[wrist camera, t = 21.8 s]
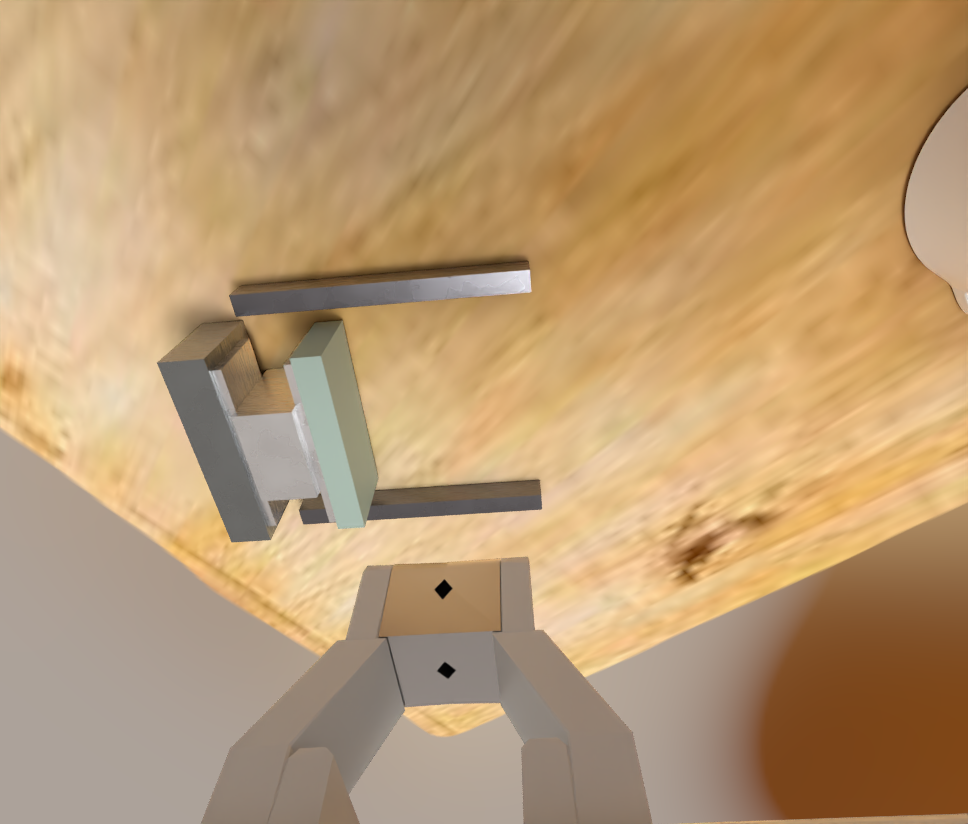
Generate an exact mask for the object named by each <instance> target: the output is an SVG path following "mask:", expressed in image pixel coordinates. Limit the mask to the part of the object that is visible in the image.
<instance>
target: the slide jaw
mask: <svg viewBox="0 0 968 824" xmlns="http://www.w3.org/2000/svg"><path fill="white" fill-rule="evenodd" d="M283 366H284V370H285V373H286V376H287V380H288V383H289V387H290V390H291V393H292V397H293V400H294V404H295V407H296V410H297V414H298V417H299V421H300V424H301V427H302V431H303V434H304V438H305V441H306V444H307V448H308V451H309V454H310V458H311V461H312V465H313V468H314V471H315V475H316V478H317V482H318V485H319V488H320V492H321V495H322V499H323V502H324V505H325V509H326V512H327V516H328V519H329V522H336V523H337V526H338V529H344V528H360V527H365V524H366V521H367V517H368V514H369V510H370V506H371V503H372V499H373V496H374V492H375V488H376V485H377V481H378V475H377V470H376V466H375V462H374V457H373V453H372V448H371V444H370V440H369V435H368V431H367V426H366V422H365V417H364V413H363V409H362V404H361V400H360V395H359V391H358V387H357V382H356V378H355V373H354V369H353V365H352V360H351V356H350V351H349V347H348V342H347V338H346V334H345V329H344V325H343V320H341V321H329V322H316V323H314V325H313V326H312V327H311V329H310V330H309V332H308V333H307V334H305V335H304V337H303V338H302V339H301V341H300V342H299V344H298V345H297V346H296V348H295V349H294V351H293V352H292V353H291V355H290V356H289V358H288V359H287V360H286V362H285V363H284V365H283Z"/></svg>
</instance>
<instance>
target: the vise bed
mask: <svg viewBox="0 0 968 824" xmlns="http://www.w3.org/2000/svg"><path fill="white" fill-rule="evenodd" d="M527 292H531V279H530V267H529V262H528V261H524V262H512V263H501V264H489V265H478V266H466V267H454V268H443V269H431V270H419V271H408V272H396V273H384V274H373V275H361V276H349V277H338V278H326V279H315V280H303V281H291V282H280V283H268V284H256V285H245V286H240V287H238V288H237V289H236V290H235V291H234V292H233V293H231V294H230V295H229V297H230V300H231V303H232V306H233V309H234V312H235V315H236V317H238V316H250V315H262V314H274V313H286V312H298V311H311V310H323V309H335V308H347V307H359V306H371V305H383V304H395V303H407V302H419V301H431V300H443V299H455V298H467V297H479V296H491V295H503V294H515V293H527ZM157 364H158V366H159V369H160V371H161V373H162V376H163V378H164V381H165V383H166V385H167V388H168V390H169V393H170V395H171V398H172V400H173V402H174V405H175V407H176V410H177V412H178V414H179V417H180V419H181V422H182V424H183V426H184V429H185V431H186V434H187V436H188V438H189V441H190V443H191V446H192V448H193V450H194V453H195V455H196V458H197V460H198V462H199V465H200V467H201V470H202V472H203V474H204V477H205V479H206V482H207V484H208V486H209V489H210V491H211V494H212V496H213V498H214V501H215V503H216V506H217V508H218V510H219V513H220V515H221V518H222V520H223V522H224V525H225V527H226V530H227V532H228V534H229V537H230V539H231V542H245V541H262V540H271V538H272V536H273V534H274V532H275V530H276V528H277V525H278V523H279V521H280V519H281V517H282V515H283V513H284V511H285V508H286V506H287V504H288V502H289V500H274V501H261V498H260V495H259V492H258V490H257V487H256V484H255V481H254V479H253V476H252V473H251V470H250V468H249V465H248V462H247V459H246V457H245V454H244V451H243V448H242V446H241V443H240V440H239V437H238V435H237V432H236V429H235V426H234V424H233V421H232V418H231V416H232V415H233V414H234V412H235V411H236V410H237V408H238V407H239V406H240V404H241V403H242V402H243V401H244V399H245V398H246V397H247V395H248V394H249V393H250V391H251V390H252V389H253V387H254V386H255V385H256V383H257V382H258V381H259V379H260V378H261V377H262V376H261V373H260V370H259V367H258V364H257V361H256V357H255V354H254V351H253V348H252V345H251V342H250V339H249V338H248V335H247V332H246V329H245V326H244V323H243V320H241V321H229V322H217V323H205V324H201V325H200V326H199V327H198V328H197V329H196V330H194V331H193V332H192V333H191V334H190V335H189V336H187V337H186V338H185V339H184V340H183V341H182V342H180V343H179V344H178V345H177V346H176V347H175V348H174V349H172V350H171V351H170V352H169V353H168V354H167V355H165V356H164V357H163V358H162V359H161V360H160V361H159V362H157ZM540 509H542V501H541V489H540V481H539V480H531V481H516V482H501V483H485V484H470V485H455V486H440V487H424V488H409V489H394V490H379V491H375V492H374V496H373V499H372V503H371V506H370V510H369V514H368V517H367V520H381V519H397V518H412V517H428V516H444V515H460V514H476V513H492V512H508V511H524V510H540ZM299 512H300V515H301V518H302V521H303V524H317V523H333V522H329V519H328V516H327V512H326V509H325V505H324V502H323V499H322V495H321V494H318V497H317V498H305V499H304V500H303V503H302V505H301V507H300V509H299Z"/></svg>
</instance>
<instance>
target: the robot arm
mask: <svg viewBox="0 0 968 824" xmlns="http://www.w3.org/2000/svg"><path fill="white" fill-rule="evenodd" d="M905 225H906V231H907V235H908V239H909V242H910V244H911V246H912V249H913V251H914V252H915V254H916V255H917V257H918V258H919V260H920V261H921V262H922V263H923V264H924V265H925V266H926V267H927V268H928V269H929V270H931V271H932V272H933V273H935V274H936V275H938V276H939V277H941V278H942V279H944V280H945V281H946V282H948V283H949V284H950V286H951V287H952V289H953V292H954V294H955V297H956V300H957V302H958V304H959V306H960V308H961V309H962V310H963V311H964V312H965V313H966V314H968V89H966V91H965V92H964V93H963V94H962V95H961V96H960V97H959V98H958V99H957V100H956V101H955V102H954V103H953V104H952V105H951V107H950V108H949V109H948V110H947V111H946V113H945V114H944V115H943V116H942V118H941V119H940V121H939V122H938V123H937V125H936V126H935V128H934V129H933V131H932V132H931V134H930V135H929V137H928V139H927V141H926V142H925V144H924V146H923V148H922V150H921V152H920V154H919V156H918V158H917V161H916V163H915V165H914V168H913V171H912V174H911V177H910V180H909V184H908V189H907V194H906V200H905ZM462 703H501V706H502V708H503V709H504V711H505V713H506V714H507V716H508V717H509V719H510V721H511V722H512V724H513V726H514V727H515V729H516V731H517V732H518V734H519V735H520V737H521V739H522V740H523V742H524V746H523V747H522V749H521V750H522V751H521V752H522V785H523V816H524V824H652V819H651V814H650V810H649V806H648V801H647V797H646V792H645V787H644V782H643V778H642V773H641V769H640V764H639V760H638V755H637V750H636V746H635V741H634V737H633V732H632V731H631V730H630V729H629V728H628V727H627V726H626V724H625V723H624V722H623V721H622V720H621V719H620V717H619V716H618V715H617V714H616V713H615V712H614V711H613V709H612V708H611V707H610V706H609V705H608V704H607V703H606V701H605V700H604V699H603V698H602V697H601V696H600V695H599V693H598V692H597V691H596V690H595V689H594V688H593V687H592V685H591V684H590V683H589V682H588V681H587V680H586V679H585V677H584V676H583V675H582V674H581V673H580V672H579V671H578V669H577V668H576V667H575V666H574V665H573V664H572V662H571V661H570V660H569V659H568V658H567V657H566V656H565V654H564V653H563V652H562V651H561V650H560V649H559V648H558V646H557V645H556V644H555V643H554V642H553V641H552V640H551V638H550V637H549V636H548V635H547V634H546V633H545V632H544V630H535V626H534V614H533V602H532V589H531V577H530V565H529V559H528V557H515V558H501V560H500V559H487V560H472V561H457V562H447V563H420V564H394V565H377V566H367V567H366V569H365V570H364V572H363V574H362V578H361V582H360V586H359V590H358V594H357V598H356V602H355V605H354V609H353V613H352V617H351V621H350V625H349V629H348V633H347V636H346V640H339V641H337V642H336V643H335V644H334V645H333V646H332V647H331V648H330V649H329V650H328V651H327V652H326V653H325V654H324V655H323V656H322V657H321V658H320V659H319V660H318V661H317V662H316V663H315V664H314V665H313V666H312V667H311V668H310V669H309V670H308V671H307V672H306V673H305V674H304V675H303V676H302V677H301V678H300V679H299V680H298V681H297V682H296V683H295V684H294V685H293V686H292V687H291V688H290V689H289V690H288V691H287V692H286V693H285V694H284V695H283V696H282V697H281V698H280V699H279V700H278V701H277V702H276V703H275V704H274V705H273V706H272V707H271V708H270V709H269V710H268V711H267V712H266V713H265V714H264V715H263V716H262V717H261V718H260V719H259V720H258V721H257V722H256V723H255V724H254V725H253V726H252V727H251V728H250V729H249V730H248V731H247V732H246V733H245V734H244V735H243V736H242V737H241V738H240V739H239V740H238V741H237V742H236V743H235V744H234V745H233V746H232V747H231V748H230V750H229V753H228V755H227V758H226V760H225V763H224V765H223V768H222V771H221V773H220V776H219V778H218V781H217V783H216V786H215V788H214V791H213V794H212V796H211V799H210V801H209V804H208V806H207V809H206V812H205V814H204V817H203V820H202V822H201V824H360V823H359V821H358V818H357V815H356V813H355V810H354V808H353V805H352V802H351V800H350V797H349V793H350V792H351V790H352V789H353V787H354V786H355V784H356V783H357V781H358V780H359V778H360V777H361V775H362V774H363V772H364V771H365V769H366V768H367V766H368V765H369V763H370V762H371V760H372V759H373V757H374V756H375V754H376V753H377V751H378V750H379V748H380V747H381V745H382V744H383V742H384V741H385V739H386V738H387V736H388V735H389V733H390V732H391V730H392V729H393V727H394V726H395V724H396V723H397V721H398V720H399V718H400V717H401V715H402V714H403V712H404V711H405V709H404V707H414V706H427V705H441V704H462ZM682 824H968V814H947V815H946V814H945V815H920V816H919V815H918V816H887V817H857V818H828V819H798V820H770V821H740V822H710V823H682Z"/></svg>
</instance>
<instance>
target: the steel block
mask: <svg viewBox="0 0 968 824" xmlns="http://www.w3.org/2000/svg"><path fill="white" fill-rule="evenodd" d="M231 418H232V421H233V424H234V426H235V429H236V432H237V435H238V437H239V440H240V443H241V446H242V448H243V451H244V454H245V457H246V459H247V462H248V465H249V468H250V470H251V473H252V476H253V479H254V481H255V484H256V487H257V490H258V492H259V495H260V498H261V501H274V500H290V499H305V498H317V497H318V494H319V492H320V488H319V485H318V482H317V478H316V475H315V471H314V468H313V465H312V461H311V458H310V454H309V451H308V448H307V444H306V441H305V438H304V434H303V431H302V427H301V424H300V421H299V417H298V414H297V410H296V407H295V404H294V400H293V397H292V393H291V390H290V387H289V383H288V380H287V376H286V373H285V370H284V368H279V369H267V370H266V371H265V373H264V374H263V375H262V377H261V378H260V379H259V381H258V382H257V383H256V385H255V386H254V387H253V389H252V390H251V391H250V393H249V394H248V395H247V397H246V398H245V399H244V401H243V402H242V403H241V404H240V406H239V407H238V408H237V410H236V411H235V412H234V414H233V415H232V416H231Z"/></svg>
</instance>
